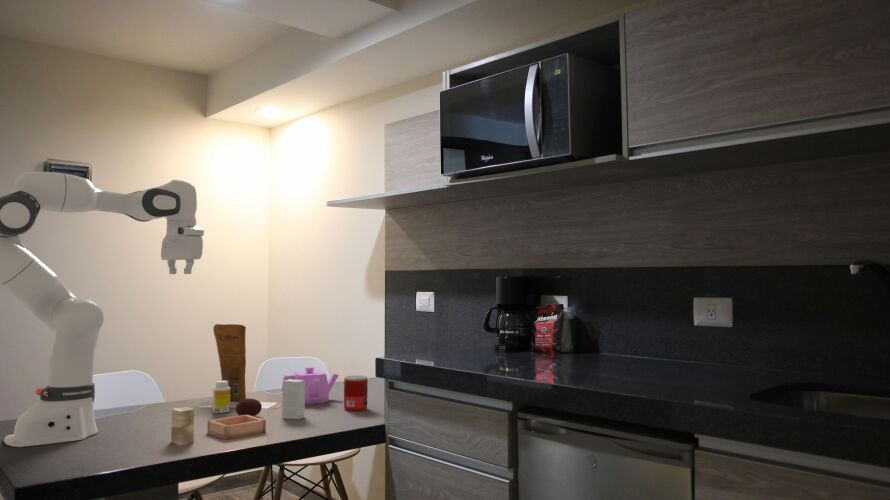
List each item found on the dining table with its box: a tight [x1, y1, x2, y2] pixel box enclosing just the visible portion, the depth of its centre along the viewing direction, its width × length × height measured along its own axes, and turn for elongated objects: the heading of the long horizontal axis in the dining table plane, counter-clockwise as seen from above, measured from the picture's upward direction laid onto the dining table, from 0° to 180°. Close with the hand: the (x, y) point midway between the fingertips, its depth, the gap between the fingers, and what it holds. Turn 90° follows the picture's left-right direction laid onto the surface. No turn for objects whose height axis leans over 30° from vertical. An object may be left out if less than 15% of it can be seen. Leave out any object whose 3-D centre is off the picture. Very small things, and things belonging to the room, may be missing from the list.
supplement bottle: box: [212, 380, 231, 414], centre depth 218 cm, size 6×6×10 cm
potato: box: [235, 398, 263, 417], centre depth 209 cm, size 7×8×6 cm
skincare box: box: [281, 379, 306, 420], centre depth 209 cm, size 6×4×12 cm
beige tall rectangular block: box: [170, 406, 195, 446], centre depth 177 cm, size 4×5×9 cm
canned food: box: [343, 375, 369, 412], centre depth 223 cm, size 8×8×11 cm
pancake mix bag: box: [212, 323, 247, 402], centre depth 242 cm, size 7×19×28 cm, turn 48°
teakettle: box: [281, 366, 339, 405], centre depth 239 cm, size 17×17×12 cm
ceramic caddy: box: [206, 415, 267, 440], centre depth 188 cm, size 12×11×4 cm
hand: (180, 274), depth 207 cm, fingers open, 8 cm apart
